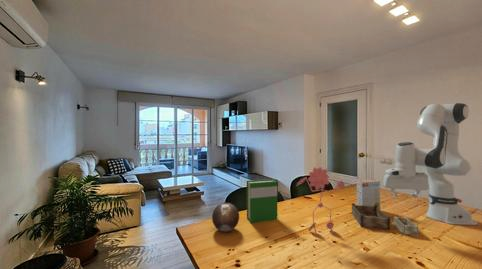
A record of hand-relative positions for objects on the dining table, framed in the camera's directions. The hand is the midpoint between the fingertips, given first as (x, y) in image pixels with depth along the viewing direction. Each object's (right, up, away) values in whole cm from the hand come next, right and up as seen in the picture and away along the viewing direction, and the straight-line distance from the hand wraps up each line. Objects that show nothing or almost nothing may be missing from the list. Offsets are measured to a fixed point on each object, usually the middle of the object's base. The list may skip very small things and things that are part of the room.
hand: (405, 196), depth 115 cm
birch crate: (0, -18, 0) cm, 19 cm away
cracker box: (-2, -19, +30) cm, 35 cm away
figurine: (-47, -19, +2) cm, 51 cm away
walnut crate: (-12, -18, +13) cm, 25 cm away
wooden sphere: (-99, -19, +1) cm, 101 cm away
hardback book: (-77, -19, +16) cm, 81 cm away
